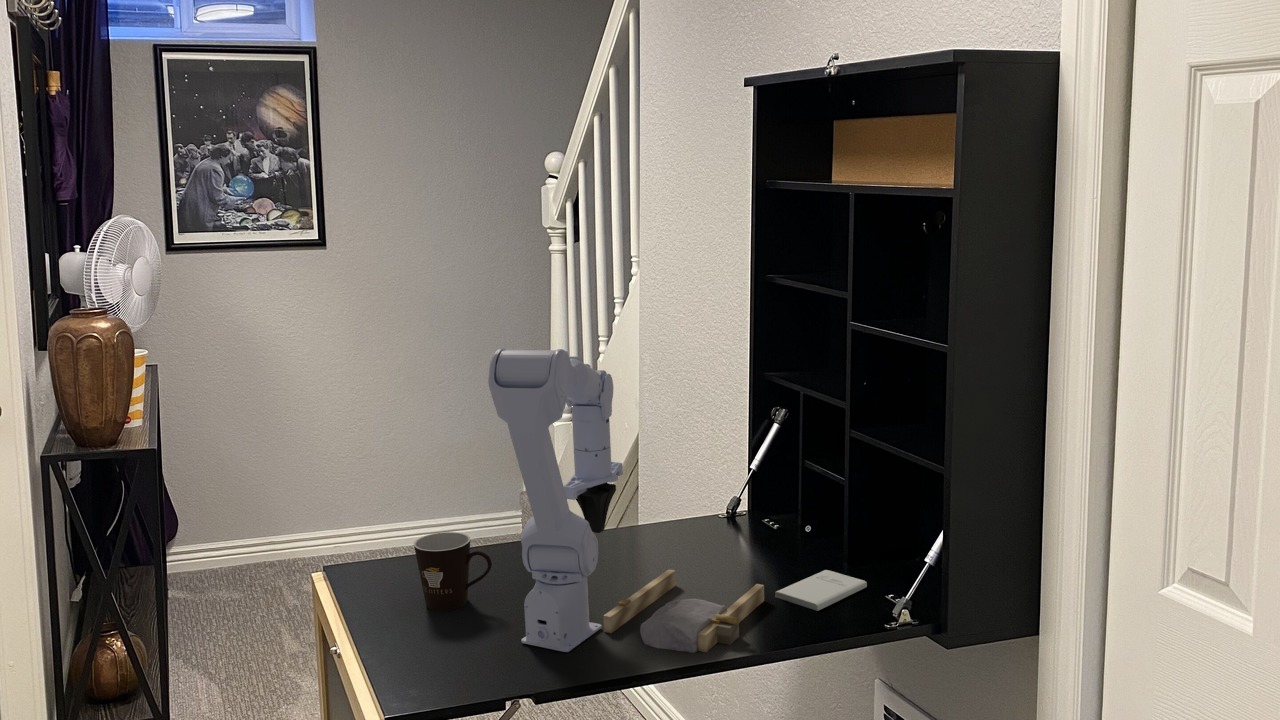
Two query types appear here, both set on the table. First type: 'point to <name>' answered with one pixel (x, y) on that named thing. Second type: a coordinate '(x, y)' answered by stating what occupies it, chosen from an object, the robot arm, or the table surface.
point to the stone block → (679, 624)
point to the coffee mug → (446, 569)
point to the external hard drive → (821, 590)
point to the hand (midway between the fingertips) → (596, 531)
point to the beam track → (716, 632)
